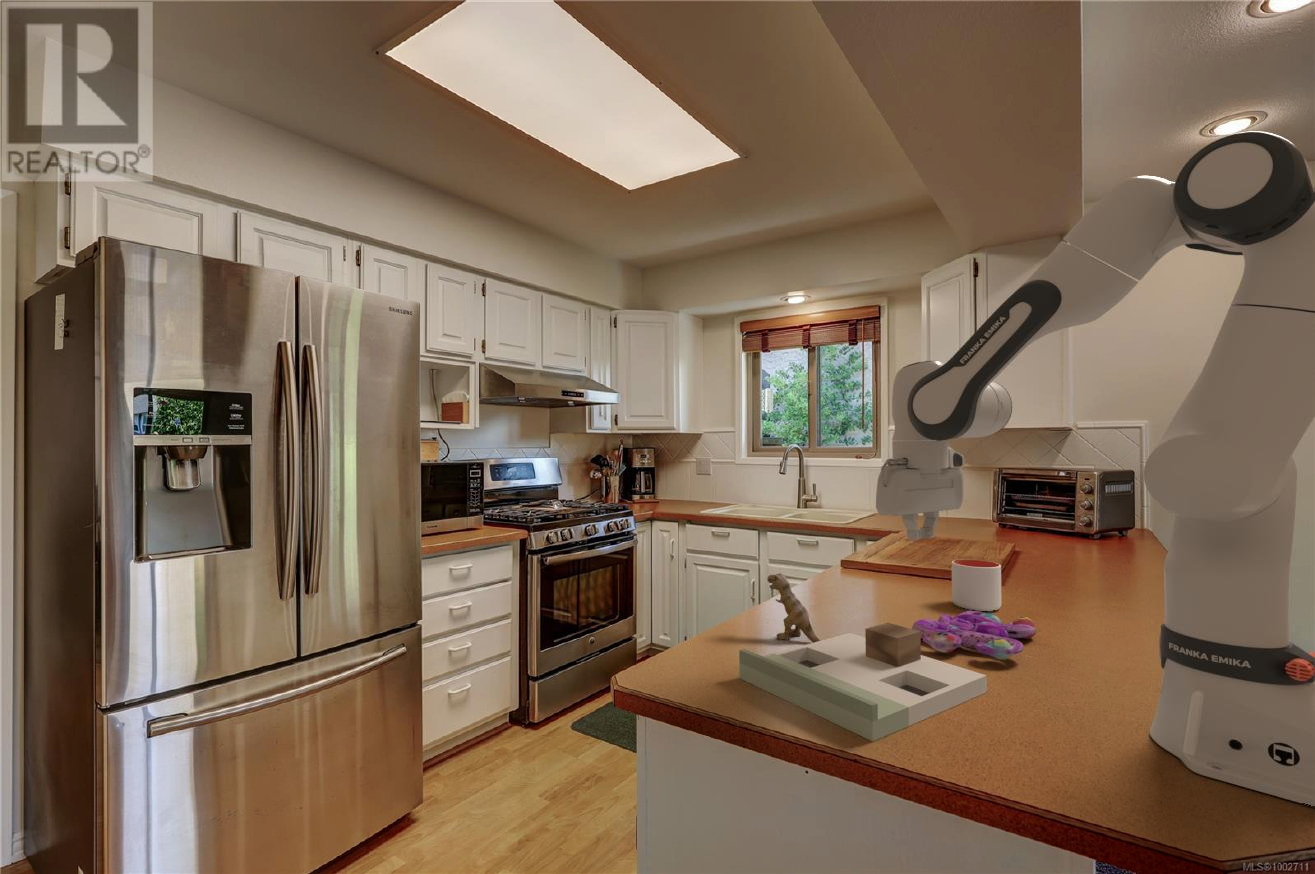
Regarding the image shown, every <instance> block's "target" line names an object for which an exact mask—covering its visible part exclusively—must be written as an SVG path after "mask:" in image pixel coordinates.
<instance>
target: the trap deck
mask: <svg viewBox="0 0 1315 874" xmlns="http://www.w3.org/2000/svg"><path fill="white" fill-rule="evenodd" d="M738 654H739V655H738V656H739V666H738V667H739V669H738V670H739V679H740V680H743V681H745V682H746V683H748V684H750V683H751V685H752V686H755V687H757V688H759V689H761V690H763V691H765V692H767V693H769V694H771V693H772V695H774V696H775V697H778V698H780V699H783V700H784V701H786V702H789V703H790V704H793V705H795V706H797V707H799V708H801V709H803V710H806V711H808V713H811V714H814V715H815V716H818V717H820V718H822V719H824V720H827V721H828V722H830V723H832V724H834V725H837V726H839V727H841V728H843V729H845V730H848V731H850V732H852V733H853V734H856V735H858V736H861V737H862V738H864V739H867V740H868V741H870V742H875V741H878V740H881V739H883V738H884V737H887V736H889V735H892V734H894V733H897V732H898V731H901V730H903V729H905V728H909V727H910V726H912V725H914V724H918V723H919V722H921V721H923V720H926V719H929V718H931V717H933V716H936V715H938V714H941V713H942V712H944V711H947V710H949V709H951V708H954V707H955V706H958V705H961V704H963V703H965V702H967V701H970V700H973V699H974V698H977V697H979V696H981V695H984V694H986V693H987V692H988V690H987V689H988V683H987V680H988V679H987V676H988V675H986V674H984V673H981V672H977V671H974V670H970V669H967V668H965V667H964V668H963V667H961V666H957V665H954V664H951V663H949V662H944V661H941V660H938V659H935V658H932V657H928V656H926V655H923V654H921V660H918V661H915V662H912V663H909V664H906V665H903V666H900V667H896V666H893V665H890V664H887V663H884V662H881V661H878V660H875V659H872V658H869V657H866V637H865V636H862V635H858V634H856V633H852V632H849V633H848V632H847V633H845V634H840V635H837V636H833V637H830V638H825V639H822V640H820V641H818V642H814V643H813V642H811V643H807V644H803V645H801V646H796V647H793V648H789V649H785V650H781V651H778V652H774V653H771V654H766V655H760V654H758V653H756V652H753V651H750V650H749V649H748V650H747V649H746V648H743V649H739V653H738Z"/></svg>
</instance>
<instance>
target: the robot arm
mask: <svg viewBox="0 0 1315 874" xmlns="http://www.w3.org/2000/svg"><path fill="white" fill-rule="evenodd" d="M1314 179H1315V178H1314V173H1313V171H1312V168H1311V167H1310V165H1309V164H1308V161H1307V160H1306V159H1305V158H1304V156H1303V154H1302V153H1301V151H1300V149H1299V148H1298V147H1297V146H1296V145H1295V144H1294V143H1293V142H1291V141H1290V140H1289V139H1287V138H1284V137H1282V136H1280V135H1278V134H1274V133H1272V132H1267V131H1255V130H1253V131H1242V132H1235V133H1233V134H1228V135H1225V136H1222V137H1221V138H1218V139H1216V140H1214V141H1212V142H1210V143H1208V144H1207V145H1205V146H1204V147H1202V148H1201V149H1200V150H1198V151H1197V152H1196V153H1195V154H1194V155H1192V157H1190V158H1189V159H1188V161H1187V162H1186V163H1185V164H1184V166H1183V167H1182V168H1181V169H1180V172H1179V173H1178V175H1177V177H1176V180H1175V182H1174V181H1169V180H1167V179H1165V178H1163V177H1162V178H1161V177H1159V176H1154V175H1153V176H1151V175H1150V176H1149V175H1140V176H1139V175H1138V176H1132V177H1129V178H1126V179H1124V180H1122V181H1121V182H1119V183H1117V184H1116V185H1115V186H1114V187H1113V188H1112V189H1110V190H1109V191H1108V192H1107V193H1105V194H1104V195H1103V196H1102V197H1101V198H1100V199H1099V200H1098V201H1097V202H1096V203H1095V204H1094V205H1093V206H1092V207H1091V208H1089V210H1088V211H1086V212H1085V214H1084V215H1083V216H1082V217H1080V219H1079V220H1078V221H1077V222H1076V223H1075V224H1074V226H1072V228H1071V229H1070V230H1069V231H1068V232H1067V234H1065V236H1064V237H1063V238H1062V240H1061V241H1060V242H1059V243H1058V245H1057V246H1056V247H1055V248H1054V249H1053V250H1052V252H1051V253H1050V254H1048V256H1047V257H1046V259H1045V260H1044V261H1043V262H1042V263H1041V265H1039V267H1038V268H1037V269H1036V270H1035V271H1034V272H1033V273H1032V275H1030V277H1029V278H1028V279H1027V280H1025V282H1024V283H1023V284H1021V285H1020V287H1019V288H1017V290H1015V291H1014V292H1013V293H1012V294H1011V295H1010V296H1009V297H1008V298H1007V299H1006V300H1005V301H1004V302H1003V303H1001V304H1000V305H999V307H997V309H996V310H995V311H994V312H993V313H992V314H991V315H990V316H989V317H988V318H987V319H986V320H985V321H984V323H982V325H980V327H979V328H978V329H977V330H976V331H975V332H974V333H973V334H972V335H971V337H969V338H968V340H967V341H965V343H963V345H962V346H961V347H960V348H959V349H958V350H957V352H955V353H954V355H952V356H951V358H950V359H948V360H947V362H945V363H943V362H942V361H938V360H925V361H918V362H913V363H910V364H907V365H905V366H903V367H902V368H900V369H899V370H898V371H897V372H896V374H895V377H894V381H893V385H892V396H891V397H892V398H891V417H892V420H893V423H894V432H893V436H892V442H891V443H892V444H891V445H892V447H891V448H892V458H888V459H886V461H885V462H884V463H883V465H882V466H881V468H880V473H879V474H878V478H877V485H876V494H875V508H876V511H877V513H878V514H879V515H881V516H887V517H888V516H889V517H899V516H902V517H901V519H902V521H903V524H904V526H905V528H906V536H907V540H909V541H912V542H914V541H915V542H916V541H921V540H922V539H934V538H935V534H936V533H935V532H936V531H935V528H936V526H937V525H938V521H939V518H940V512H944V511H945V512H946V511H952V510H959V509H960V508H961V507H962V505H963V501H964V487H965V486H964V474H963V471H962V469H963V468H964V467H965V463H966V462H965V460H966V459H965V456H964V455H963V454H962V453H959V452H958V451H956V450H954V449H953V447H949V444H950V443H949V442H950V441H949V440H953V439H974V438H975V439H976V438H978V439H979V438H985V437H990V436H993V435H995V434H997V433H999V432H1000V431H1001V430H1002V429H1004V428H1005V426H1006V425H1007V424H1008V423H1009V422H1010V419H1011V416H1012V412H1013V402H1012V398H1011V396H1010V393H1009V392H1008V391H1007V389H1006V388H1005V387H1004V386H1003V385H1001V384H999V382H998V383H997V382H995V381H994V380H995V379H997V377H998V376H999V375H1000V374H1001V373H1002V372H1003V371H1004V370H1005V369H1006V368H1007V367H1008V366H1009V365H1011V363H1012V362H1013V361H1014V360H1015V359H1016V358H1017V357H1018V356H1019V355H1020V354H1021V353H1022V352H1023V351H1024V350H1025V349H1026V348H1027V347H1028V346H1030V345H1031V344H1032V343H1034V342H1035V341H1037V340H1039V339H1041V338H1042V337H1043V338H1044V336H1045V337H1046V336H1047V335H1048V334H1052V333H1055V332H1057V331H1060V330H1063V329H1068V328H1073V327H1076V326H1080V325H1084V324H1089V323H1091V322H1094V321H1097V320H1098V319H1100V318H1101V317H1102V316H1103V315H1105V314H1106V313H1107V312H1109V311H1110V310H1112V309H1113V308H1114V307H1116V305H1118V304H1119V303H1121V301H1122V300H1123V299H1124V298H1125V297H1126V296H1127V295H1128V294H1130V292H1131V291H1132V290H1133V289H1134V288H1135V287H1136V286H1137V285H1138V283H1139V282H1140V281H1141V280H1142V279H1143V278H1144V277H1145V276H1146V275H1147V274H1148V272H1150V270H1151V269H1152V268H1153V267H1154V266H1155V265H1156V264H1157V263H1158V262H1159V261H1160V260H1161V259H1162V258H1163V257H1165V256H1166V255H1167V254H1169V252H1171V251H1172V250H1174V249H1176V248H1178V247H1181V246H1185V247H1186V248H1188V249H1191V250H1197V251H1198V250H1199V251H1204V252H1212V253H1216V254H1222V255H1227V256H1243V260H1244V268H1243V273H1242V276H1241V279H1240V282H1239V286H1238V288H1237V290H1236V292H1235V294H1234V295H1233V296H1234V297H1233V299H1232V301H1231V303H1230V306H1229V308H1228V311H1227V313H1226V315H1225V318H1224V320H1223V322H1222V324H1221V326H1220V329H1219V332H1218V334H1217V336H1216V337H1215V338H1216V339H1215V341H1214V343H1213V346H1212V348H1211V350H1210V353H1209V354H1208V358H1207V359H1206V361H1205V364H1204V366H1203V368H1202V369H1201V373H1200V374H1199V376H1198V378H1197V379H1196V381H1195V382H1194V384H1193V386H1192V387H1191V389H1190V390H1189V392H1188V394H1187V395H1186V397H1185V398H1184V400H1183V402H1182V403H1181V404H1180V406H1179V408H1178V409H1177V411H1176V413H1175V414H1174V416H1173V418H1172V419H1171V421H1170V423H1169V424H1168V427H1167V428H1166V430H1165V432H1164V434H1163V436H1162V437H1161V439H1160V440H1159V443H1158V444H1157V445H1156V447H1155V448H1154V449H1153V450H1152V451H1151V453H1150V454H1149V456H1148V457H1147V459H1146V462H1145V464H1144V468H1143V481H1144V485H1145V487H1146V489H1147V492H1148V493H1149V495H1150V496H1151V497H1152V499H1153V500H1154V501H1155V502H1157V504H1158V505H1160V506H1161V507H1163V509H1166V510H1167V511H1169V512H1171V513H1173V514H1174V521H1173V526H1172V532H1171V538H1170V542H1169V547H1168V551H1167V553H1166V556H1165V559H1164V562H1163V576H1164V577H1163V581H1164V583H1163V585H1164V586H1163V588H1164V589H1163V590H1164V591H1163V592H1164V595H1163V596H1164V623H1162V624H1161V625H1160V632H1159V640H1158V641H1159V646H1158V647H1159V648H1158V649H1159V658H1160V666H1161V668H1162V670H1163V672H1162V673H1163V674H1162V682H1161V688H1160V695H1159V698H1158V699H1159V700H1158V705H1157V710H1156V712H1155V716H1154V719H1153V722H1152V724H1151V726H1150V729H1149V735H1150V737H1151V739H1152V740H1153V741H1154V742H1155V743H1156V744H1157V745H1159V746H1160V747H1162V749H1165V750H1166V751H1167V752H1169V753H1171V754H1172V755H1174V756H1176V757H1177V758H1179V759H1180V760H1181V762H1182V763H1183V764H1184V765H1185V766H1186V767H1187V768H1188V769H1189V770H1191V771H1192V772H1194V773H1196V774H1198V775H1201V776H1203V777H1204V776H1205V777H1208V778H1211V779H1215V780H1219V781H1222V782H1225V783H1229V784H1233V785H1237V786H1240V787H1243V788H1246V789H1250V790H1252V791H1253V790H1254V791H1258V792H1261V793H1264V794H1267V795H1272V796H1275V797H1278V798H1282V799H1285V800H1289V801H1292V802H1295V803H1299V804H1302V803H1306V804H1309V805H1311V806H1310V807H1313V806H1315V651H1310V652H1309V653H1308V652H1307V651H1305V650H1304V649H1302V648H1301V647H1299V646H1298V645H1296V644H1294V643H1293V642H1291V637H1290V636H1291V633H1290V628H1291V627H1290V566H1291V557H1292V550H1293V542H1294V541H1293V540H1294V530H1295V517H1296V503H1297V482H1298V481H1297V480H1298V473H1297V469H1298V468H1297V465H1296V462H1295V460H1294V458H1293V456H1292V455H1293V453H1294V452H1295V450H1296V449H1297V446H1298V445H1299V443H1300V441H1302V439H1303V437H1304V435H1305V433H1306V432H1307V430H1308V429H1309V427H1310V425H1311V424H1312V422H1313V420H1314V419H1315V180H1314ZM919 514H922V517H923V518H924V520H923V525H922V526H921V527H920V528H919V524H918V521H919ZM1306 804H1305V805H1306ZM1309 805H1308V806H1309ZM1312 805H1313V806H1312Z"/></svg>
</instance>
